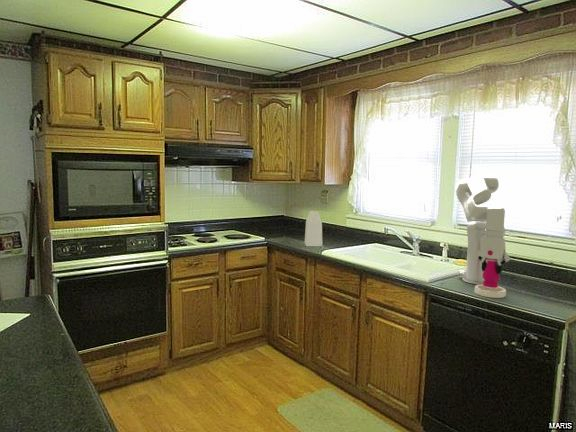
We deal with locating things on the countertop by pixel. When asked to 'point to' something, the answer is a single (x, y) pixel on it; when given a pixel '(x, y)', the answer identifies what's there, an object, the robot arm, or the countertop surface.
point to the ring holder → (490, 291)
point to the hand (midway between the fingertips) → (491, 271)
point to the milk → (313, 229)
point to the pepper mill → (491, 272)
